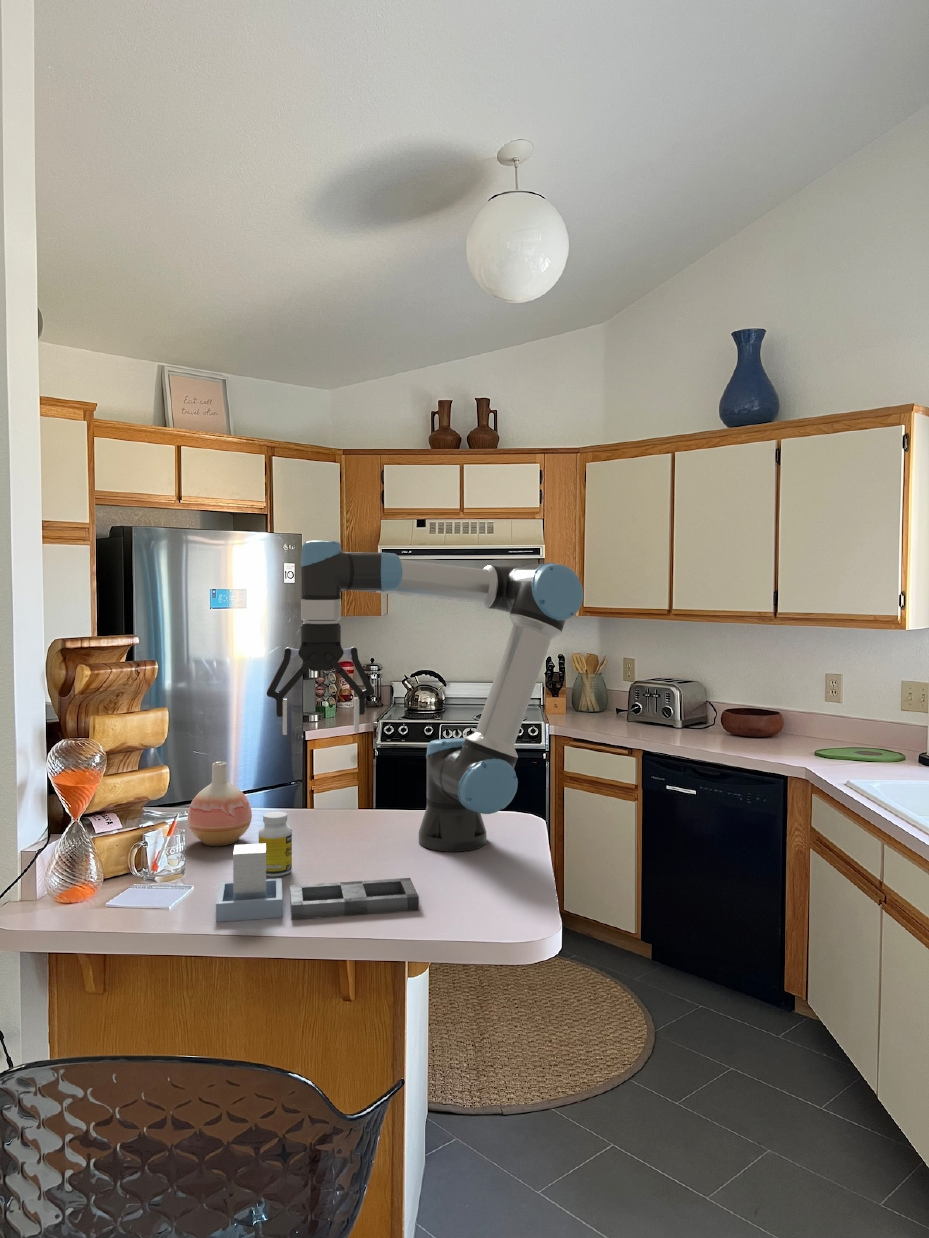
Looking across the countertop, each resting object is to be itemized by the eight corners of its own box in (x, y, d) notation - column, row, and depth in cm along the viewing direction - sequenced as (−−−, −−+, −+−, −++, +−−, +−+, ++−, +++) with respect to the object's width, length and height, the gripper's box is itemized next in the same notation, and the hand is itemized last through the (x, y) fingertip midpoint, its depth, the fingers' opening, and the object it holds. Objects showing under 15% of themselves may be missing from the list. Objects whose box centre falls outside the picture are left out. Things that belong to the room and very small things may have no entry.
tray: (281, 894, 163) (281, 878, 163) (282, 917, 152) (282, 899, 152) (219, 898, 161) (219, 882, 161) (216, 921, 150) (215, 903, 150)
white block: (266, 897, 160) (266, 843, 159) (265, 908, 155) (265, 852, 154) (234, 899, 159) (234, 844, 158) (233, 911, 153) (233, 854, 153)
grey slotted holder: (410, 890, 166) (410, 877, 166) (418, 910, 156) (418, 896, 156) (290, 899, 161) (290, 885, 161) (291, 919, 151) (291, 905, 151)
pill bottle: (284, 879, 172) (284, 819, 171) (253, 876, 173) (252, 817, 173) (297, 868, 178) (297, 811, 178) (267, 866, 180) (266, 809, 179)
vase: (218, 855, 186) (217, 772, 185) (174, 844, 193) (173, 764, 193) (264, 839, 198) (264, 761, 197) (221, 830, 205) (221, 754, 204)
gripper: (383, 621, 175) (383, 727, 176) (254, 621, 170) (254, 731, 171) (388, 622, 168) (388, 734, 169) (253, 623, 163) (253, 738, 164)
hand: (320, 732), depth 170 cm, fingers open, 13 cm apart
